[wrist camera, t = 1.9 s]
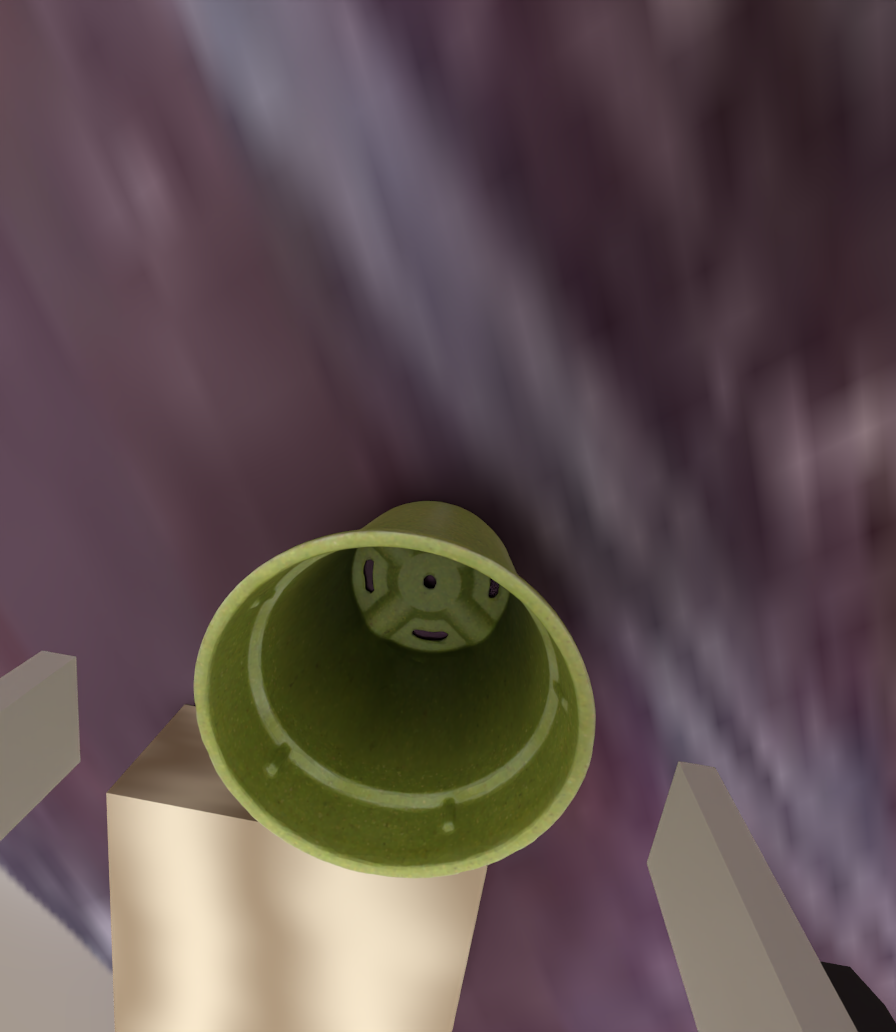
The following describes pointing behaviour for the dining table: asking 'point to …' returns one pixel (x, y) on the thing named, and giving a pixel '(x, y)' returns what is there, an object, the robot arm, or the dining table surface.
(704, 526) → the dining table surface
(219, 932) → the ash block
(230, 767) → the plant pot
